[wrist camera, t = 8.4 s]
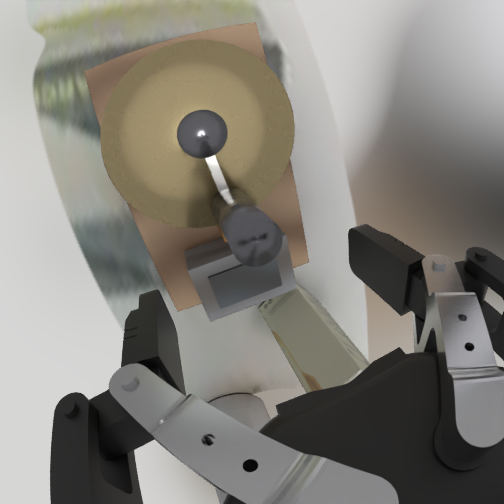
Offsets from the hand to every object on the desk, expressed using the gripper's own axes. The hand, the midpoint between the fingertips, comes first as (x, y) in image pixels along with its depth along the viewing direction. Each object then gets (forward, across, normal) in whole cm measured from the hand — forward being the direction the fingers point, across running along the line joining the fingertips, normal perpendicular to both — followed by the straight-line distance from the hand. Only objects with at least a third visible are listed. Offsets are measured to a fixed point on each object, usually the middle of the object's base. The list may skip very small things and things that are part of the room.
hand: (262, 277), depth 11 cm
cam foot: (+10, 0, -5) cm, 11 cm away
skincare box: (+12, -5, +13) cm, 19 cm away
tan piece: (+12, 0, -2) cm, 12 cm away
